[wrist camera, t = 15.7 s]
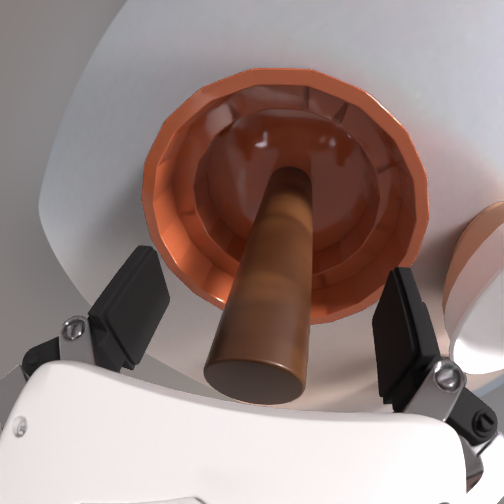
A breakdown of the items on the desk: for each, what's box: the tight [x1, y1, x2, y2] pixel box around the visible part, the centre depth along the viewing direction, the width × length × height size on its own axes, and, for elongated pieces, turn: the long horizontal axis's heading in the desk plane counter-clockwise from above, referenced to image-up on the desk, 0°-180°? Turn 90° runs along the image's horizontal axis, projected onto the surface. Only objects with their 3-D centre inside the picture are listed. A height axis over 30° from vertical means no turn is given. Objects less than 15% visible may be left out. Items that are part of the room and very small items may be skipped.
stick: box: [204, 167, 313, 405], centre depth 13 cm, size 3×3×14 cm
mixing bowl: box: [141, 68, 429, 325], centre depth 17 cm, size 16×16×6 cm
